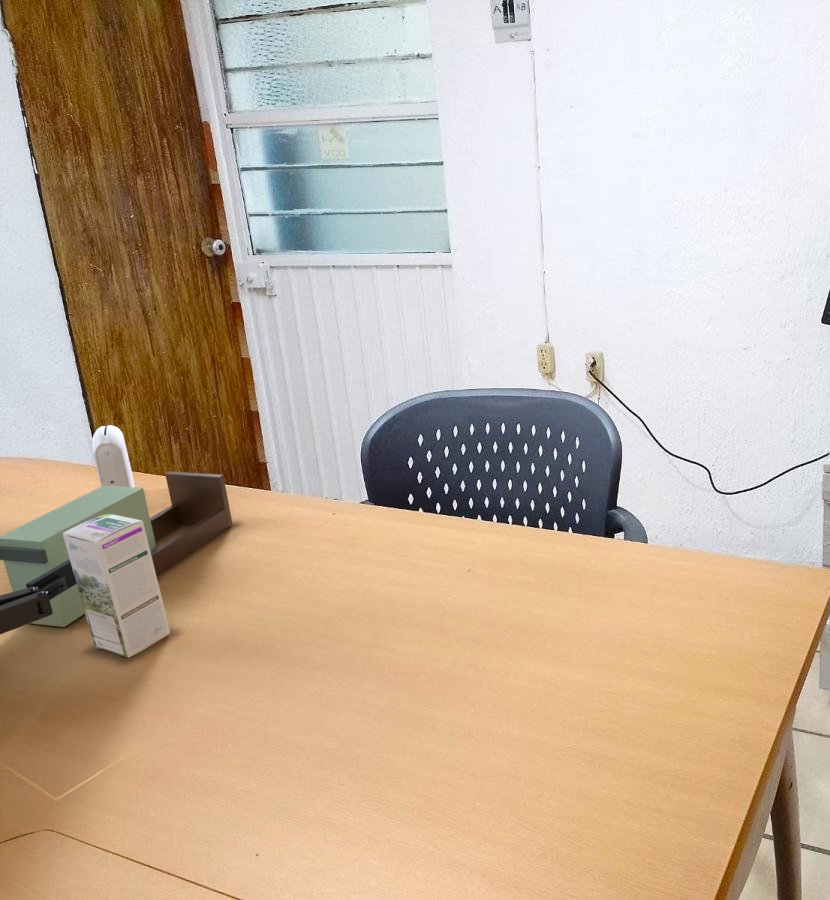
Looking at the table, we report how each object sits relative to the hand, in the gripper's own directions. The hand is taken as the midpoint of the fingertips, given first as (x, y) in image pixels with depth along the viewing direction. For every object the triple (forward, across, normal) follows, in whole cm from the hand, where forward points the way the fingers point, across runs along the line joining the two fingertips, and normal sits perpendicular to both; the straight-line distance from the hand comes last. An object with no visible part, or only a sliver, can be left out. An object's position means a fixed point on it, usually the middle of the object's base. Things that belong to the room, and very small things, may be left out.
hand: (30, 562), depth 95 cm
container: (+7, 0, -8) cm, 11 cm away
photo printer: (+34, -19, -8) cm, 40 cm away
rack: (+20, 0, -8) cm, 21 cm away
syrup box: (-1, +13, -8) cm, 15 cm away
